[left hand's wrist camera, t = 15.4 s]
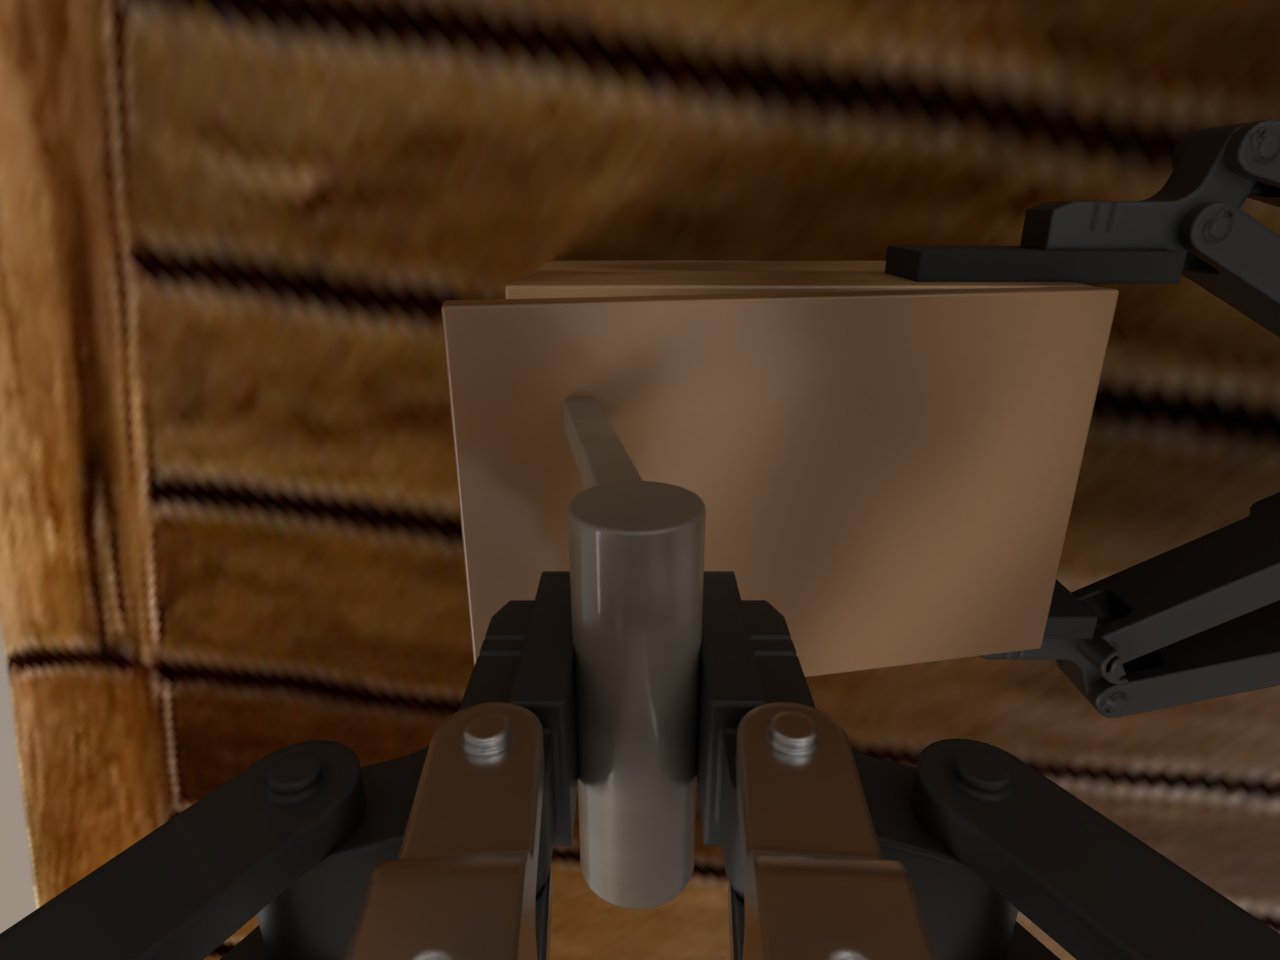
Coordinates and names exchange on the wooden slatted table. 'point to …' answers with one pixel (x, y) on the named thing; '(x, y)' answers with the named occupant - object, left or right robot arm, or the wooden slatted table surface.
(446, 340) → the lid
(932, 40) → the wooden slatted table surface
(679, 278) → the chest
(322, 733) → the wooden slatted table surface
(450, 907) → the left robot arm
